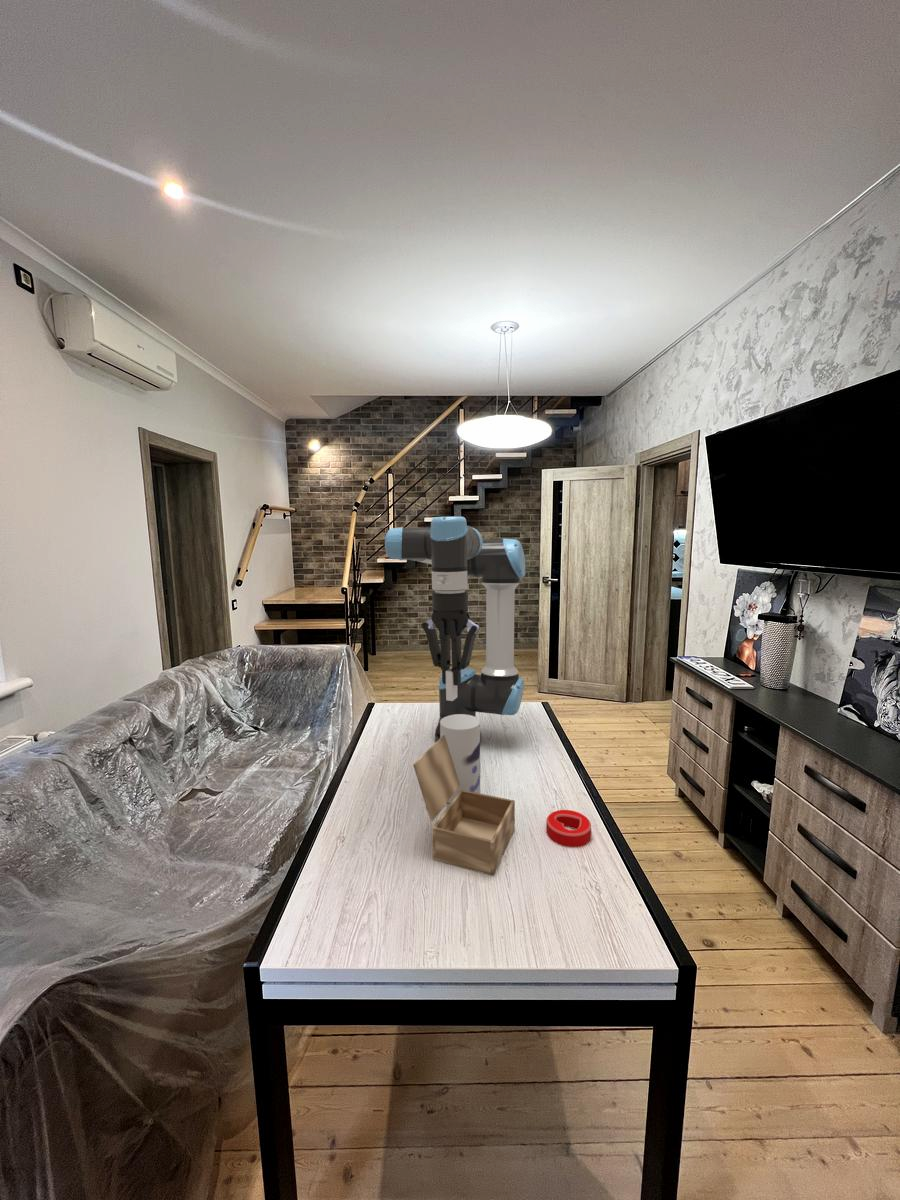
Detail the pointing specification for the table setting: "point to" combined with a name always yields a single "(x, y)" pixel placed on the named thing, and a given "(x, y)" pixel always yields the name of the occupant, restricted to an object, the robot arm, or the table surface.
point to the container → (463, 749)
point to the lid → (436, 777)
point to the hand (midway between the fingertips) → (451, 698)
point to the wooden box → (474, 831)
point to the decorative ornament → (563, 835)
